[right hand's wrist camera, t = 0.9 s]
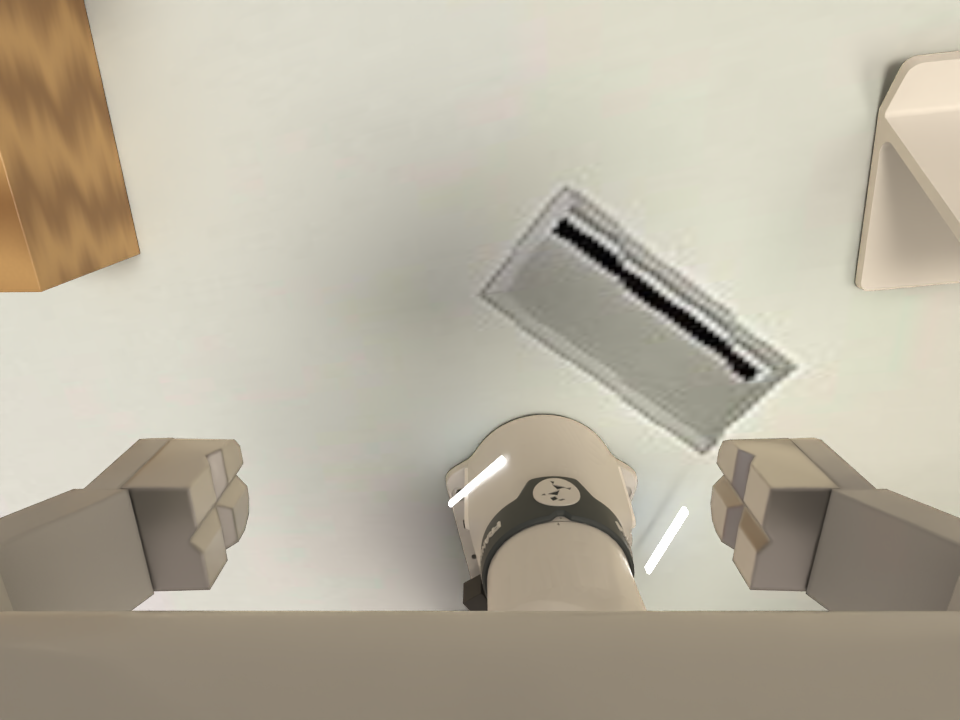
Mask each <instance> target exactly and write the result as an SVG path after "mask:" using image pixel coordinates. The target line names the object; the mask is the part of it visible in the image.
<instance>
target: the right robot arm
mask: <svg viewBox="0 0 960 720" xmlns="http://www.w3.org/2000/svg"><path fill="white" fill-rule="evenodd" d="M242 465H243V458H242V454H241V449H240V445H239V444H238V443H237V442H236V441H235V440H234V439H182V438H177V439H174V438H147V439H139V440H138V441H137V442H136V443H135V444H134V445H132V446H131V447H130V448H129V449H128V450H127V451H126V452H125V453H123V454H122V455H121V456H120V457H119V458H118V459H117V460H116V461H114V462H113V463H112V464H111V465H110V466H109V467H108V468H107V469H105V470H104V471H103V472H102V473H101V474H100V475H99V476H98V477H97V478H95V479H94V480H93V481H92V482H91V483H90V484H89V485H88V486H86V487H85V488H84V489H72V490H70V491H67V492H65V493H62V494H60V495H57V496H55V497H52V498H50V499H47V500H45V501H42V502H40V503H37V504H34V505H32V506H29V507H27V508H24V509H22V510H19V511H17V512H14V513H12V514H9V515H7V516H4V517H2V518H0V720H960V518H958V517H956V516H953V515H951V514H948V513H946V512H943V511H941V510H938V509H936V508H933V507H930V506H928V505H925V504H923V503H920V502H918V501H915V500H913V499H910V498H908V497H905V496H903V495H900V494H898V493H895V492H893V491H890V490H888V489H876V488H875V487H874V486H873V485H871V484H870V483H869V482H868V481H867V480H866V479H865V478H864V477H862V476H861V475H860V474H859V473H858V472H857V471H856V470H855V469H853V468H852V467H851V466H850V465H849V464H848V463H847V462H846V461H845V460H843V459H842V458H841V457H840V456H839V455H838V454H837V453H836V452H834V451H833V450H832V449H831V448H830V447H829V446H828V445H827V444H825V443H824V442H823V441H822V440H820V439H816V438H793V439H789V438H776V439H734V440H725V441H723V442H722V444H721V446H720V449H719V452H718V458H717V465H718V466H719V468H720V470H721V471H722V473H723V474H724V475H723V476H722V477H721V478H720V479H719V480H718V481H717V482H716V483H715V484H714V485H713V488H712V496H711V514H712V521H713V524H714V528H715V531H716V533H717V534H718V536H719V538H720V540H721V542H723V543H724V544H726V545H728V546H729V547H731V548H733V549H734V554H733V562H734V564H735V565H736V567H737V569H738V570H739V572H740V574H741V575H742V577H743V579H744V580H745V582H746V584H747V585H748V587H749V589H750V590H777V591H806V594H807V595H808V596H810V597H811V598H812V599H814V600H815V601H816V602H818V603H819V604H820V605H822V606H823V607H825V608H826V609H827V610H829V611H647V610H646V608H645V606H644V603H643V601H642V598H641V596H640V594H639V591H638V589H637V586H636V584H635V581H634V564H633V557H632V551H631V545H632V534H631V530H632V528H634V527H635V524H636V522H635V516H634V513H633V509H632V506H631V502H632V499H633V496H634V493H635V490H636V487H637V483H638V481H637V476H636V473H635V471H634V470H633V469H632V468H631V467H629V466H628V465H626V464H625V463H623V462H622V461H620V460H618V459H616V458H615V457H614V456H613V455H612V454H611V453H610V451H609V450H608V448H607V447H606V445H605V444H604V442H603V441H602V440H601V439H600V438H599V437H598V435H596V434H595V433H594V432H593V431H592V430H591V429H589V428H588V427H586V426H585V425H583V424H581V423H579V422H577V421H574V420H572V419H569V418H565V417H561V416H555V415H532V416H526V417H522V418H519V419H516V420H513V421H510V422H508V423H506V424H504V425H502V426H501V427H499V428H497V429H496V430H495V431H493V432H492V433H491V434H490V435H489V436H487V437H486V438H485V439H484V441H483V442H482V443H481V444H480V445H479V447H478V448H477V450H476V451H475V452H474V453H473V455H472V456H471V457H470V458H469V459H467V460H466V461H464V462H462V463H460V464H459V465H457V466H455V467H454V468H452V469H451V470H450V471H449V472H448V473H447V475H446V487H447V491H448V494H449V498H450V501H449V506H450V507H452V509H453V513H454V517H455V521H456V524H457V528H458V532H459V536H460V539H461V543H462V547H463V551H464V554H465V558H466V562H467V565H468V569H469V573H470V577H471V579H470V580H469V581H467V582H465V583H464V590H463V604H464V605H465V606H466V607H467V608H468V609H469V610H470V611H132V610H133V609H134V608H136V607H137V606H138V605H140V604H141V603H142V602H144V601H145V600H147V599H148V598H149V597H151V596H152V595H153V594H154V591H182V590H210V589H211V587H212V585H213V584H214V582H215V580H216V579H217V577H218V575H219V574H220V572H221V570H222V569H223V567H224V565H225V564H226V562H227V554H226V549H227V548H229V547H231V546H232V545H234V544H236V543H237V542H239V540H240V538H241V536H242V534H243V533H244V531H245V528H246V524H247V520H248V515H249V494H248V488H247V485H246V484H245V483H244V482H243V481H242V480H241V479H240V478H239V477H238V476H237V475H236V474H237V473H238V471H239V469H240V468H241V466H242ZM459 489H462V490H461V491H460V492H458V491H457V490H459ZM687 515H688V511H687V509H686V507H684V506H683V507H682V508H681V510H680V512H679V513H678V515H677V516H676V518H675V520H674V521H673V523H672V524H671V526H670V528H669V529H668V531H667V532H666V534H665V536H664V537H663V539H662V540H661V542H660V544H659V545H658V547H657V548H656V550H655V551H654V553H653V555H652V556H651V558H650V559H649V561H648V563H647V564H646V566H645V569H646V571H647V573H648V574H650V573H651V572H652V570H653V569H654V567H655V565H656V564H657V562H658V561H659V559H660V558H661V556H662V554H663V553H664V551H665V550H666V548H667V547H668V545H669V543H670V542H671V540H672V539H673V537H674V535H675V534H676V532H677V531H678V529H679V528H680V526H681V524H682V523H683V521H684V520H685V518H686V517H687Z"/></svg>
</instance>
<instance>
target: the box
mask: <svg viewBox="0 0 960 720" xmlns="http://www.w3.org/2000/svg"><path fill="white" fill-rule="evenodd" d="M138 254H140V251H139V247H138V242H137V238H136V233H135V229H134V224H133V220H132V215H131V211H130V206H129V202H128V197H127V193H126V188H125V184H124V179H123V175H122V170H121V166H120V161H119V157H118V152H117V148H116V144H115V139H114V135H113V130H112V126H111V121H110V117H109V112H108V108H107V103H106V99H105V94H104V90H103V85H102V81H101V76H100V72H99V67H98V63H97V58H96V54H95V49H94V45H93V40H92V36H91V31H90V27H89V22H88V18H87V13H86V9H85V4H84V0H0V292H42V291H45V290H47V289H50V288H52V287H55V286H58V285H60V284H63V283H65V282H68V281H71V280H73V279H76V278H78V277H81V276H84V275H86V274H89V273H91V272H94V271H97V270H99V269H102V268H104V267H107V266H110V265H112V264H115V263H117V262H120V261H123V260H125V259H128V258H130V257H133V256H136V255H138Z"/></svg>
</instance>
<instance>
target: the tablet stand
mask: <svg viewBox="0 0 960 720" xmlns="http://www.w3.org/2000/svg"><path fill="white" fill-rule="evenodd" d="M855 283H856V285H857V287H859V288H861V289H863V290H865V291H876V290H886V289H897V288H907V287H918V286H928V285H939V284H949V283H960V51H952V52H943V53H934V54H925V55H917V56H913V57H911V58H909V59H908V60H906V61H905V62H904V63H903V64H902V66H901V67H900V69H899V71H898V73H897V75H896V77H895V79H894V81H893V83H892V85H891V87H890V89H889V91H888V93H887V94H886V96H885V98H884V100H883V102H882V104H881V106H880V108H879V113H878V120H877V127H876V134H875V142H874V149H873V156H872V163H871V171H870V178H869V185H868V193H867V200H866V207H865V214H864V222H863V229H862V236H861V243H860V251H859V258H858V265H857V272H856V280H855Z"/></svg>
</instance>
